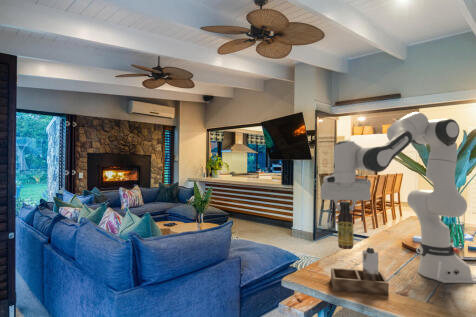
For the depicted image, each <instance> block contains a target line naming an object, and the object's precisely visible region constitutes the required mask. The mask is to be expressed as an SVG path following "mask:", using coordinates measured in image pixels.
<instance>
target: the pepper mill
mask: <svg viewBox="0 0 476 317" xmlns="http://www.w3.org/2000/svg"><path fill="white" fill-rule="evenodd" d="M362 270H363V280H369V281H378V271H379V252H378V251H376V250H375V249H374V248H373V247H370V246H369V247H367V248H366V249H364V250H362Z"/></svg>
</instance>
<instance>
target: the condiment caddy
mask: <svg viewBox="0 0 476 317" xmlns="http://www.w3.org/2000/svg"><path fill="white" fill-rule="evenodd" d="M330 280H331V285H332V291H334V292H345V293H357V294H367V295H379V296H390V295H389V282H388V280H387V279H386V277H385V275H384V273H383V272H382V271H379V270H378V281H369V280H363V269H351V268H337V267H336V268H335V267H330Z"/></svg>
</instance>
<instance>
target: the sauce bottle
mask: <svg viewBox="0 0 476 317" xmlns="http://www.w3.org/2000/svg"><path fill="white" fill-rule="evenodd" d="M339 206H341V208H340V209H341V210H339V211H340V212H339V213H338V216H337V243H338V247H339V248H340V249H342V250H352V249H353V248H354V223H353V222H354V221H353V220H354V219H353V216H352V214H351V211H350V207H349V206H351V202H350V201H349V200H340V202H339Z"/></svg>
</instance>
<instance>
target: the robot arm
mask: <svg viewBox="0 0 476 317" xmlns="http://www.w3.org/2000/svg"><path fill="white" fill-rule="evenodd" d="M386 136H387V139H388V141H387V142H386V143H385V144H383V145H380V146H374V147H363V146H361V145H359V144H358V143H356V142H355V140H352V139H346V140H342V141H338V142H336V144H335V145H334V148H333V163H334V169H333V174H329V175H327V176H324V177H323V179H322V180H323V182H322V184H321V188H320V198H321V199H322V200H324V201H327V200H330V201H331V200H333V202H334V204H335V206H336V211H340V210H341V206H340V205H338V203H339V201H351V202H352V204H351V205H350V206H349V207H350V212H353V211H354V208H355V206H356V204H357V201H370V200H371V197H372V196H371V187H372V181H371V180H370V179H368V178H366V177H363V178H361V177H357V172H356V170H360V171H371V172H375V173H380V172H383V171H385V170H386V169H387V168H388V167H389V166H390V164H391V163H392V161H393V160H394V159H395V158H396V157H397V156H398V155H399V154H401V153H402V152H403V151H404V150H405V149H406V148H407V147H409V145H410V144H411V143H412V144H414V145H420V146H422V145H429V147H430V151H429V153H428V154H429V155H428V160H427V165H426V169H425V170H426V171H425V177H426V179H427V180H428V181H429V182H430V183H432V186H433V189H416V190H414V189H413V190H411V191H410V192H409V193H408V195H407V199H406V201H407V205H408V206H409V208H411V209H412V211H413V212H414V213H415V215H416V217H417V219H418V222H419V226H420V234H421V235H420V236H421V238H420V240H421V242H420V243H419V244H420V245H419V253H420V260H419V265H418V269H417V273H418V274H419V275H421V276H423V277H425V278H428V279H431V280H435V281H438V282H440V283H444V284H476V276H475V274H473V273H472V271H471V267H470V265H469V263H467V262H466V261H464V260H462V258H460V257H459V256H458V255H456V254H459V253H460V249H458V248H457V247H454V246H452V245H451V237H450V236H451V234H450V233H451V230H450V228H449V226H448V225H447V224H445V222H443V220H441V217H447V218H459V217H463V216H464V215H465V213H466V211H467V209H468V203H467V200H466V199H465V197H464V196H463V195H461V193H460V192H459V190H458V188H457V185H456V179H455V178H456V177H455V176H456V169H457V162H458V145H457V143H456V141H457V139H458V138H459V136H460V126H459V124H458V122H457V121H456V120H454V119H453V118H441V119H439V118H438V119H430V120H429V119H428V117H427V115H425V113H422V112H419V111H415V112H411V113H408V114H407V115H404V116H402V117H400V118H399V119H397V120H396V121H395V122H393V123H391V125H389V126H388V127H387V130H386ZM356 177H357V178H356ZM440 216H441V217H440Z"/></svg>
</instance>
